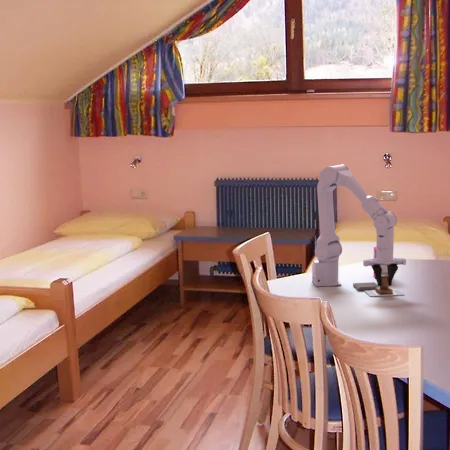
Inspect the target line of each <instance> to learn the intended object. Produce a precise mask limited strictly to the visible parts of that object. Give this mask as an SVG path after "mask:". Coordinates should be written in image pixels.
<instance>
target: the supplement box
mask: <svg viewBox="0 0 450 450" xmlns="http://www.w3.org/2000/svg"><path fill="white" fill-rule="evenodd" d="M376 247H377V246H374V247H373V259H376ZM380 266H381V268H382V274H381V275H388V270H387V265H380ZM373 276H374V279H375V280H377V279H376V276H375V273H374V272H373Z"/></svg>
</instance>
